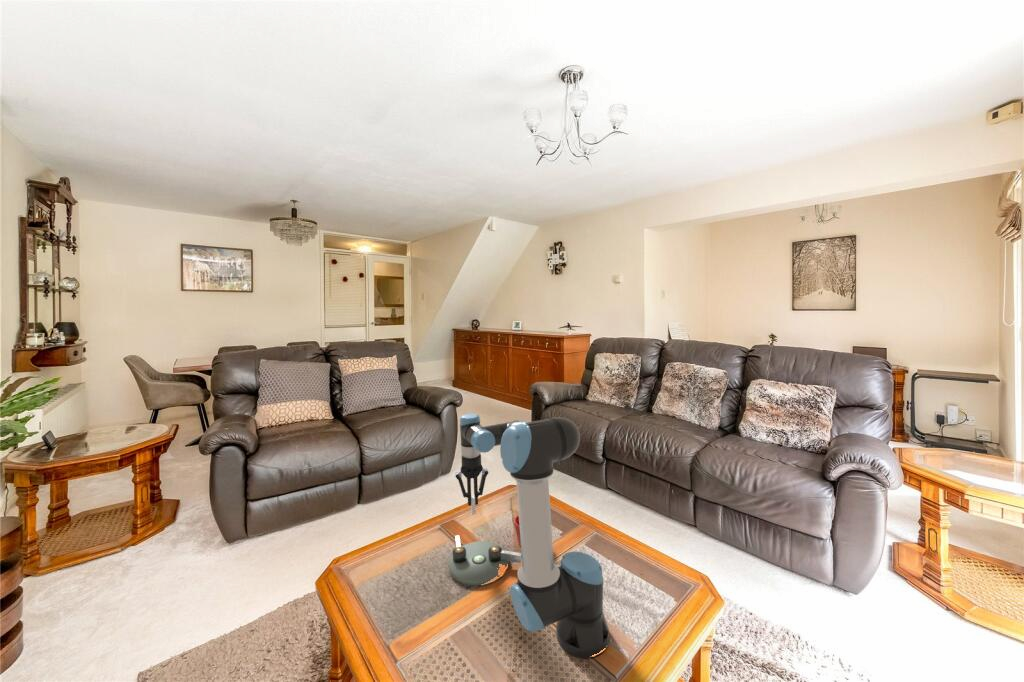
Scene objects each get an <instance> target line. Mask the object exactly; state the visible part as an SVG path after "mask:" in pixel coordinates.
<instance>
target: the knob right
mask: <svg viewBox="0 0 1024 682" xmlns="http://www.w3.org/2000/svg"><path fill="white" fill-rule="evenodd" d="M505 550H506V549H505ZM505 550H502V548H501V547H499V546H492V547H490V548H489V550H488V553H489V560H490V561H491V562H498V561H500V560H505V561H509V562H513V563H518V564H522V554H521V552H517V551H510V550H506V551H505Z"/></svg>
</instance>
